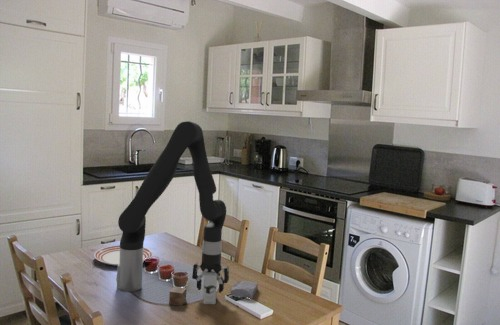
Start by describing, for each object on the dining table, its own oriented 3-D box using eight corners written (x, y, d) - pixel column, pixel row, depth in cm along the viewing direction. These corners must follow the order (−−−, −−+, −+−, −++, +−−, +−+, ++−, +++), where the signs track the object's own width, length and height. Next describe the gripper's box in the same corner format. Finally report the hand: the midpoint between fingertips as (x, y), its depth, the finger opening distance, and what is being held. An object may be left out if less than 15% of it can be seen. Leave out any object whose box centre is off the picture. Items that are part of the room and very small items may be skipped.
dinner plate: (164, 259, 219) (164, 252, 219) (121, 274, 196) (121, 267, 196) (126, 247, 234) (126, 241, 233) (81, 260, 211) (81, 253, 210)
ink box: (203, 295, 179) (204, 267, 178) (215, 295, 180) (216, 267, 178) (202, 304, 171) (204, 274, 169) (215, 304, 171) (217, 275, 170)
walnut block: (169, 304, 169) (169, 291, 169) (173, 298, 174) (174, 286, 174) (181, 305, 168) (182, 293, 168) (185, 300, 173) (186, 288, 173)
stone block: (229, 301, 179) (253, 300, 177) (228, 290, 179) (252, 288, 177) (236, 291, 190) (259, 290, 188) (235, 280, 190) (258, 279, 188)
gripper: (231, 250, 175) (229, 289, 177) (197, 246, 178) (195, 284, 180) (227, 256, 168) (225, 297, 170) (191, 251, 171) (189, 292, 172)
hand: (209, 290), depth 175 cm, fingers open, 8 cm apart
